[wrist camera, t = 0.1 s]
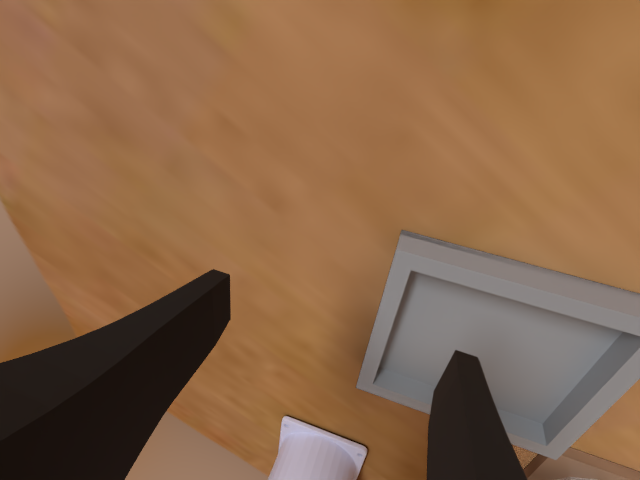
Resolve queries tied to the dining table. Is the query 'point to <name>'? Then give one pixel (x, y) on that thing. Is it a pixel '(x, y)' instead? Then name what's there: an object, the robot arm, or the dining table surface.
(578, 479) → the ring
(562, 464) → the tan peg stand
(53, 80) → the dining table surface
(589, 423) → the tray
